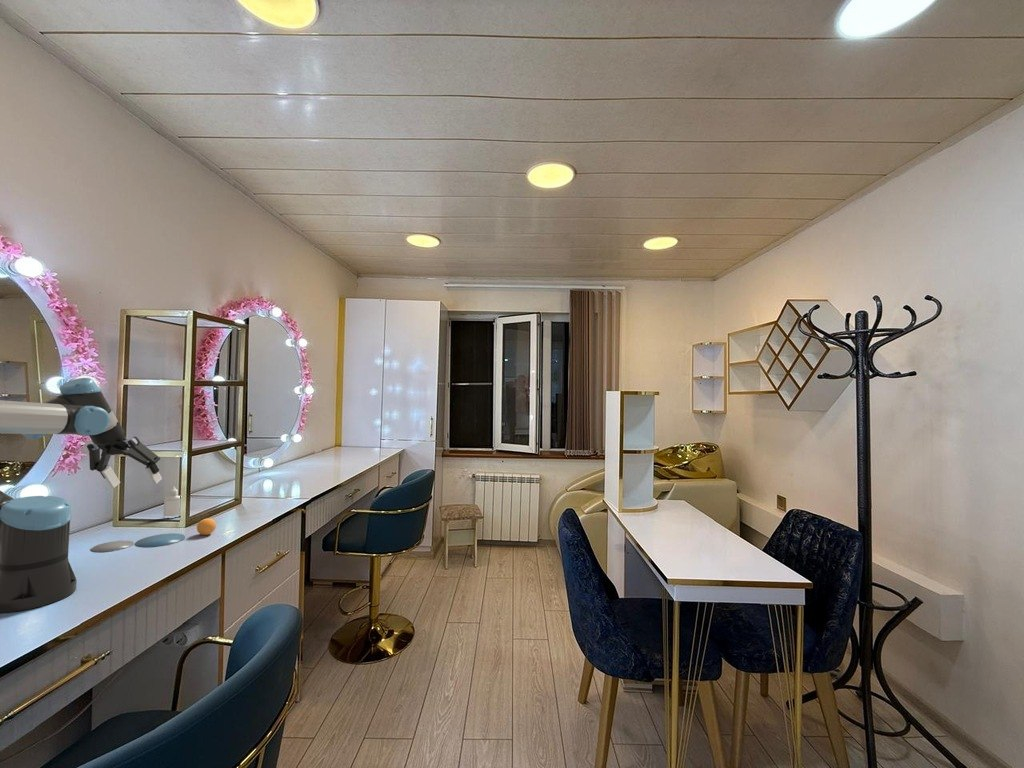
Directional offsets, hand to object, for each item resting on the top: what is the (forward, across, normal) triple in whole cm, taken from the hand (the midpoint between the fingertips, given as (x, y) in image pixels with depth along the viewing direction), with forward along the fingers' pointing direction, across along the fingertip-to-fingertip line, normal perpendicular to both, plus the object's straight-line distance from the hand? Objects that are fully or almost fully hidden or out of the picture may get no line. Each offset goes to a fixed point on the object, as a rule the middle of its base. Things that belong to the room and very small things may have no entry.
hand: (137, 483), depth 143 cm
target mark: (+21, -1, +4) cm, 21 cm away
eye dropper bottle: (+31, +14, -19) cm, 39 cm away
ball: (+23, -11, -3) cm, 26 cm away
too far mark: (+16, +9, +10) cm, 21 cm away
